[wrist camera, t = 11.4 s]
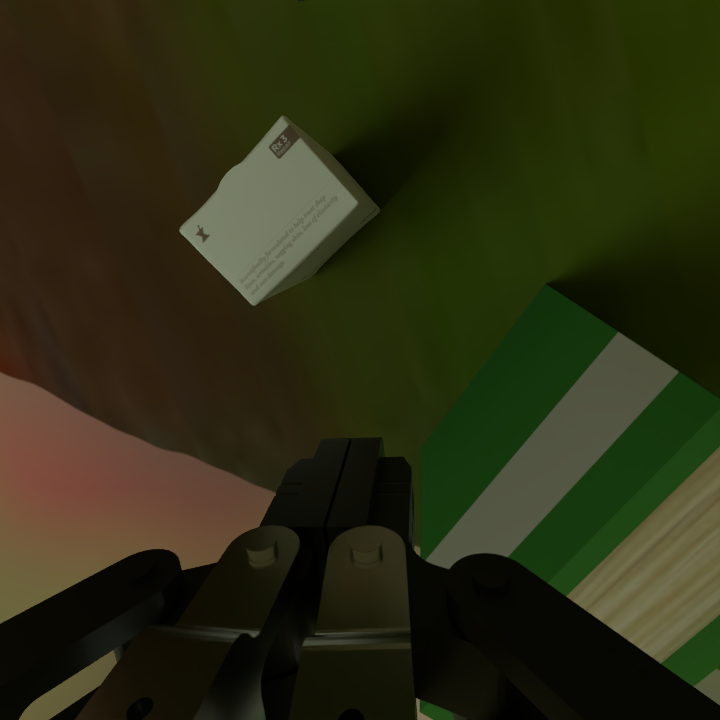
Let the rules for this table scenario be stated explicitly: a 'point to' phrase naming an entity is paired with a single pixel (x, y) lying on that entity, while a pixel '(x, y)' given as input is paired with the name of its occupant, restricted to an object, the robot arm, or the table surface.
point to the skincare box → (279, 214)
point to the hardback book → (587, 481)
